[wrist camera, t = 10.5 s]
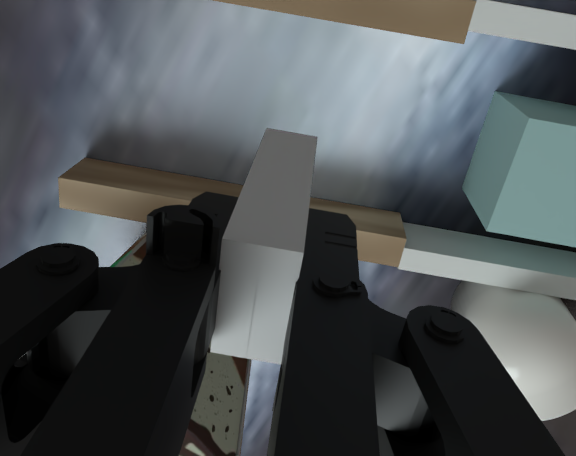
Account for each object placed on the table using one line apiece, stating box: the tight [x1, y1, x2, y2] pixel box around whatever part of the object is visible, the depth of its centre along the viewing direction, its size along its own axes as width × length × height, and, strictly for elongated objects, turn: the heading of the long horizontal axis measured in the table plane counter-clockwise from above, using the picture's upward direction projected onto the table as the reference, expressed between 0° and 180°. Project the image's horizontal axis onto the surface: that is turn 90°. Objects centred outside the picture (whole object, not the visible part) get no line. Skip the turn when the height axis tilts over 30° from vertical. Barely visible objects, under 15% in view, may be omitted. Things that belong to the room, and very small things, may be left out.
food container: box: [110, 233, 251, 456], centre depth 27 cm, size 12×6×10 cm, turn 32°
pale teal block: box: [462, 91, 576, 247], centre depth 24 cm, size 5×5×5 cm
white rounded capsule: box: [451, 280, 576, 421], centre depth 27 cm, size 6×6×6 cm
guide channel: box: [58, 0, 476, 267], centre depth 24 cm, size 12×17×3 cm
